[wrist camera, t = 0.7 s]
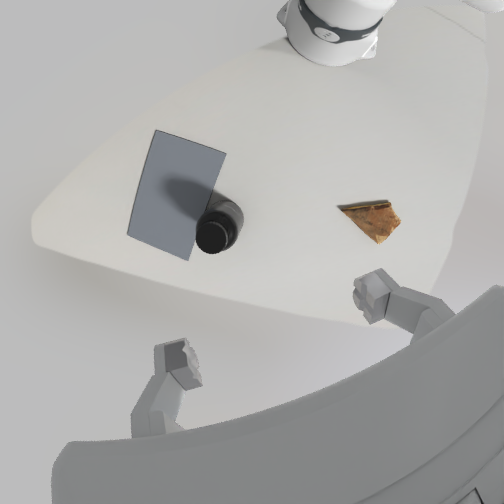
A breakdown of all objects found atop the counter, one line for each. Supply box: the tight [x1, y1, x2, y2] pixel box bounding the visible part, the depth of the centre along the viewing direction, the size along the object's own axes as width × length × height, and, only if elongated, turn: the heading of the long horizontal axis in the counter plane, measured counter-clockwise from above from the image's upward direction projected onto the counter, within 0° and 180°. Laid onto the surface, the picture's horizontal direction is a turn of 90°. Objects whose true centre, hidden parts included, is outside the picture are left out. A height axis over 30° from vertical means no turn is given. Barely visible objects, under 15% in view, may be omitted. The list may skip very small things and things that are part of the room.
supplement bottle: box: [195, 201, 244, 254], centre depth 45 cm, size 7×7×12 cm
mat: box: [128, 130, 226, 261], centre depth 50 cm, size 22×14×1 cm, turn 158°
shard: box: [341, 202, 401, 244], centre depth 48 cm, size 11×8×2 cm
